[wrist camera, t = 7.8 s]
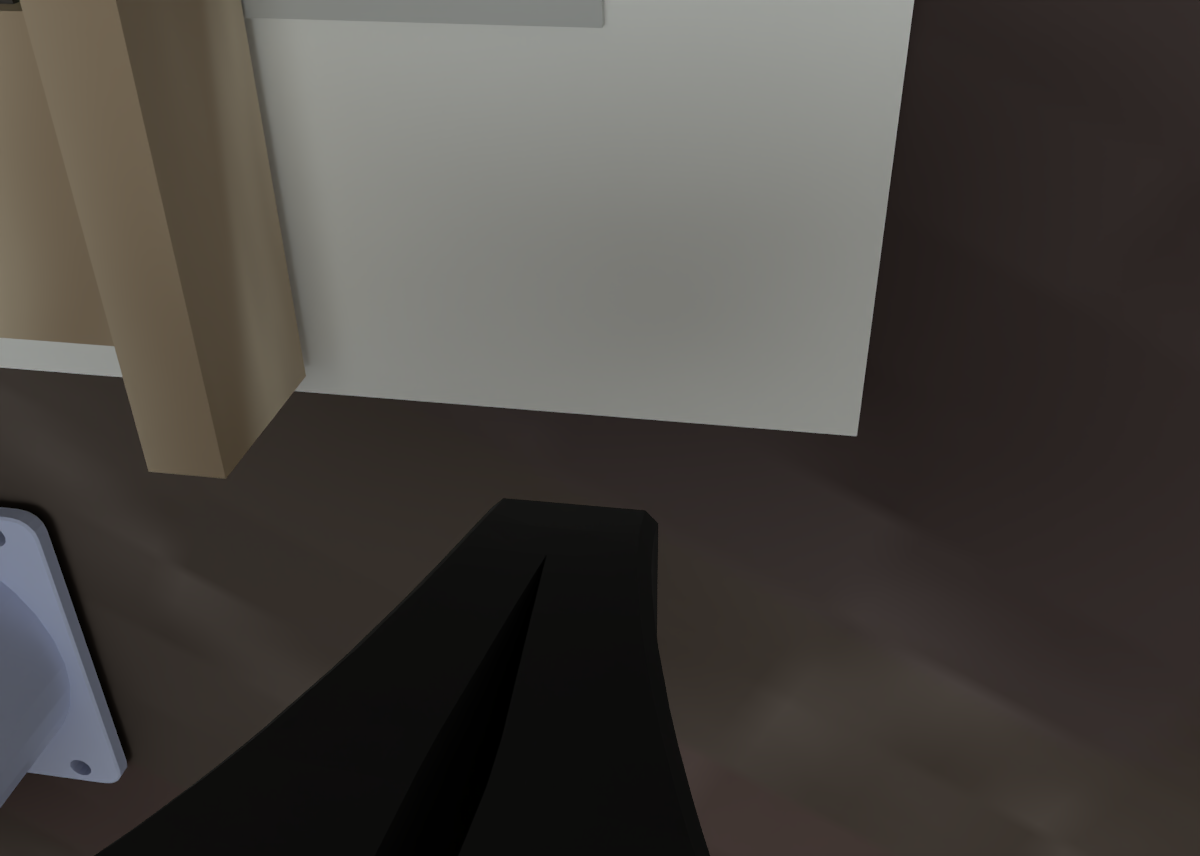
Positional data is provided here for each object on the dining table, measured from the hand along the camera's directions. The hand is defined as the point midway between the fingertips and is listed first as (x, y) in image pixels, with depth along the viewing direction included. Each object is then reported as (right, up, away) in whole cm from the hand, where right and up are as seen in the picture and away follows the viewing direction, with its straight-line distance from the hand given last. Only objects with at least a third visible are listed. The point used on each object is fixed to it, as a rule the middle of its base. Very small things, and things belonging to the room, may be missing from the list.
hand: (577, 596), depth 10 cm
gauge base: (-5, +6, +8) cm, 12 cm away
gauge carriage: (-7, +6, +7) cm, 12 cm away
